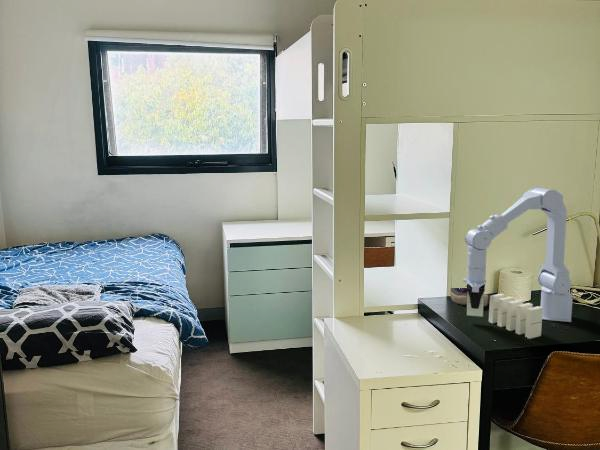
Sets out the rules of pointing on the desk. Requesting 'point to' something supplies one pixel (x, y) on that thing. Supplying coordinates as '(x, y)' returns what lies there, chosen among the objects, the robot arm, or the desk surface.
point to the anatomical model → (463, 296)
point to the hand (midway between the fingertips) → (475, 307)
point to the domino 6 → (533, 322)
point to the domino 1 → (471, 310)
